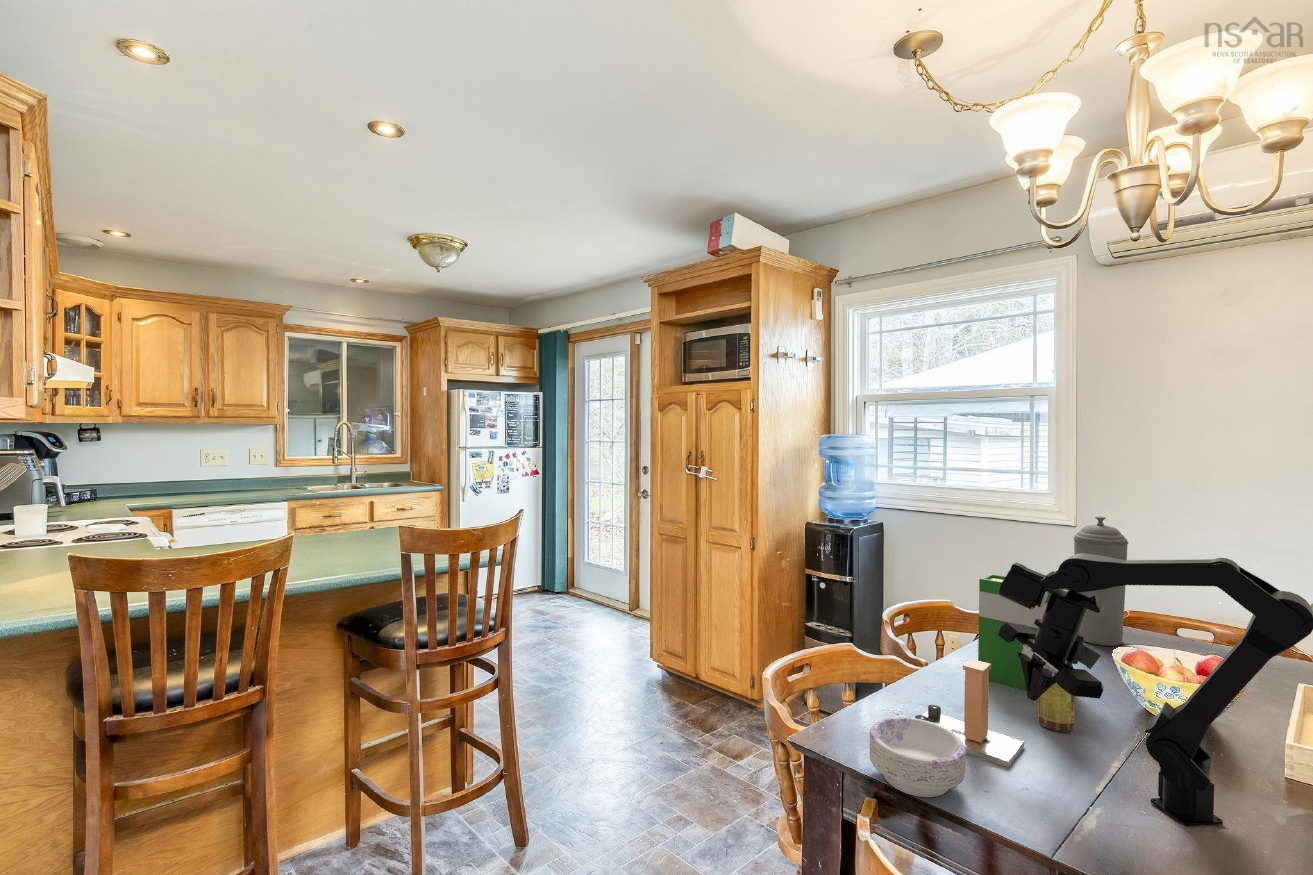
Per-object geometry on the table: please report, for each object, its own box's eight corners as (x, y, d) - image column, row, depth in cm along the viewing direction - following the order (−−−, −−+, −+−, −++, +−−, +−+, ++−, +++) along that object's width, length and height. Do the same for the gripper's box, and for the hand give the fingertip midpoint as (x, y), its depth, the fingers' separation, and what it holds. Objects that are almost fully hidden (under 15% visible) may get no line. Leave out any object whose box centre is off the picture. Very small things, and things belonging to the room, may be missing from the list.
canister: (1135, 650, 173) (1138, 520, 172) (1082, 646, 176) (1084, 519, 175) (1113, 634, 185) (1116, 514, 184) (1064, 631, 188) (1066, 512, 187)
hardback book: (1071, 691, 146) (1073, 586, 146) (1062, 701, 141) (1064, 593, 141) (988, 669, 159) (990, 573, 158) (977, 677, 154) (979, 578, 153)
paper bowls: (959, 820, 99) (960, 769, 99) (859, 790, 107) (860, 743, 107) (969, 773, 112) (970, 729, 112) (879, 750, 120) (880, 708, 120)
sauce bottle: (1079, 735, 126) (1081, 634, 125) (1044, 732, 127) (1046, 632, 127) (1065, 720, 132) (1067, 624, 132) (1032, 717, 133) (1034, 622, 133)
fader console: (1024, 747, 121) (1024, 730, 121) (1008, 767, 114) (1008, 750, 114) (927, 716, 134) (927, 701, 133) (907, 733, 126) (908, 717, 126)
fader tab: (990, 735, 123) (991, 663, 122) (982, 743, 119) (983, 670, 119) (970, 728, 125) (971, 658, 125) (961, 737, 122) (962, 665, 122)
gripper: (1145, 657, 105) (1111, 738, 108) (1059, 600, 123) (1032, 672, 126) (1089, 651, 103) (1055, 734, 106) (1009, 594, 120) (983, 666, 124)
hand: (1031, 699), depth 116 cm, fingers closed
